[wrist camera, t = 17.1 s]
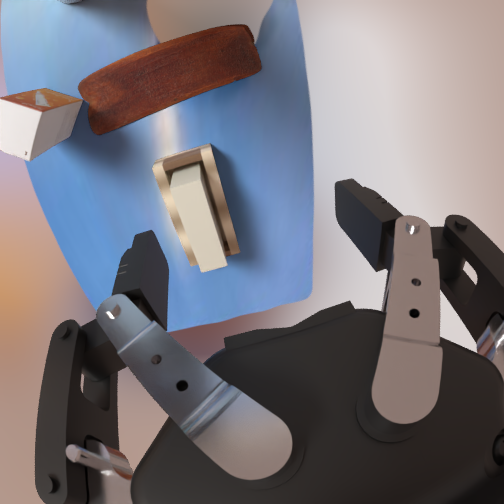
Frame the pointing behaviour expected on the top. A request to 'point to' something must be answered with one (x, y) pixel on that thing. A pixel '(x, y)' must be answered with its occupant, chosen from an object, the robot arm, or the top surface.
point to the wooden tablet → (168, 75)
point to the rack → (205, 155)
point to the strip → (198, 216)
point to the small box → (36, 121)
